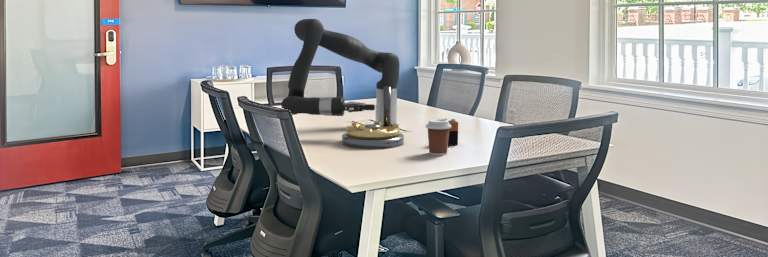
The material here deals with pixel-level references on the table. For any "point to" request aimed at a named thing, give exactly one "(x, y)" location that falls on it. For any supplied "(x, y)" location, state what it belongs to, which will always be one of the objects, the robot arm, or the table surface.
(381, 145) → the cap housing
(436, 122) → the coffee cup
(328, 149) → the table surface
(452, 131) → the battery
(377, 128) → the gold base with rod
